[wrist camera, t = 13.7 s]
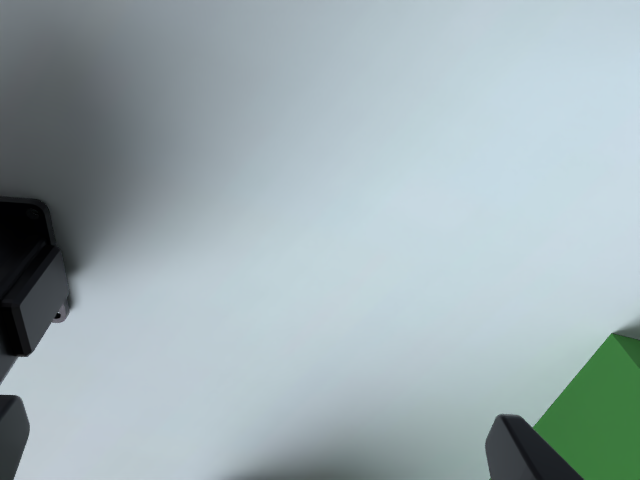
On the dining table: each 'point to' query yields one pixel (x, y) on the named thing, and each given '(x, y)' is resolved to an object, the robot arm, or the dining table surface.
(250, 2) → the dining table surface
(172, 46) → the dining table surface
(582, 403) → the hardback book
